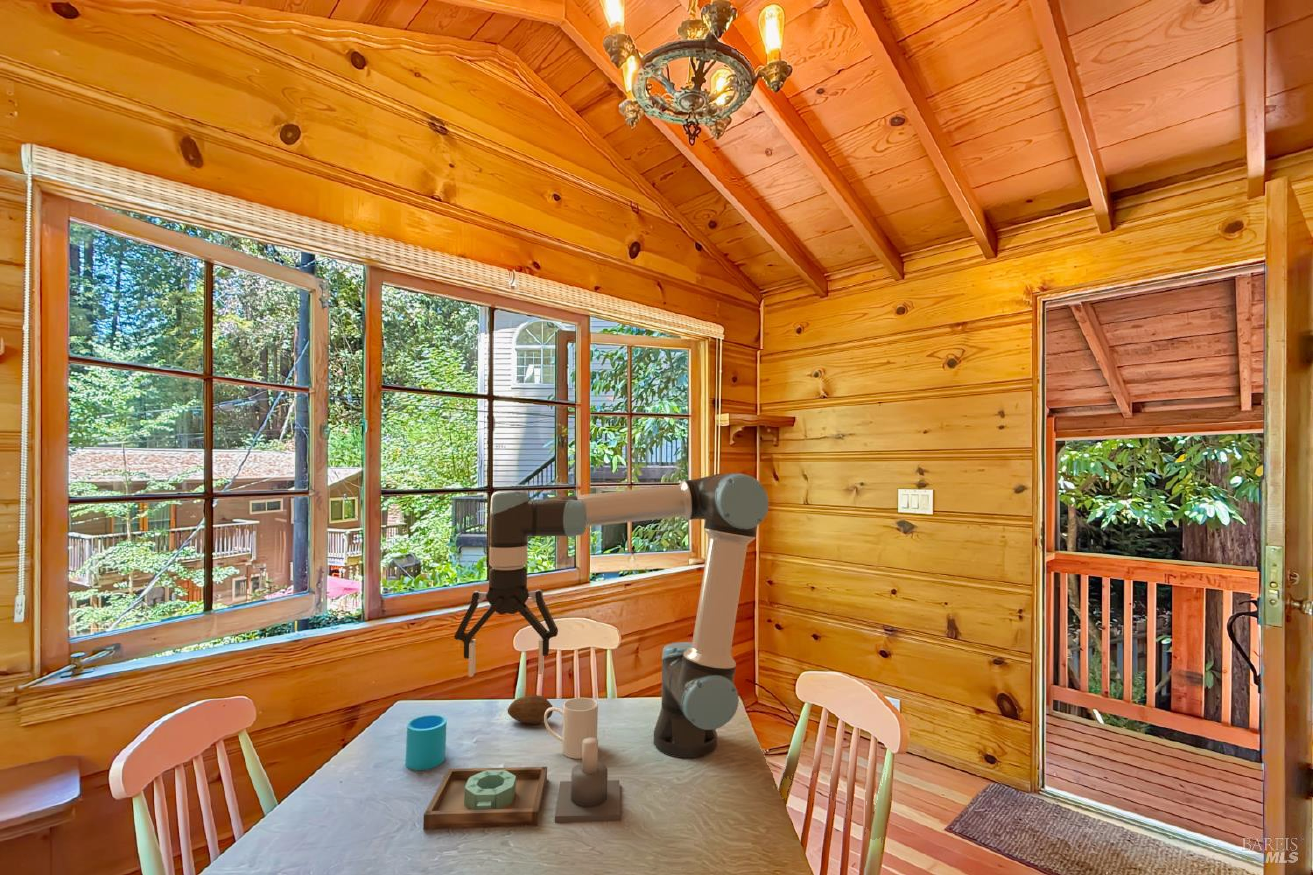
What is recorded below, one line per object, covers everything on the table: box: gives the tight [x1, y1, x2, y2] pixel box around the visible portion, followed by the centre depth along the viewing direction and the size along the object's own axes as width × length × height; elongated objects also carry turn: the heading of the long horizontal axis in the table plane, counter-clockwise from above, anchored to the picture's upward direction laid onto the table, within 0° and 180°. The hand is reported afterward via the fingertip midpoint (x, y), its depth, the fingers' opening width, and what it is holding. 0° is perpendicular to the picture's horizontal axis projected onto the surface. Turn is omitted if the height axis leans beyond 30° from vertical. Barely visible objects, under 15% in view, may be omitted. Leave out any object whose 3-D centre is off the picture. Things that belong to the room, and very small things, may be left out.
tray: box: [422, 766, 548, 830], centre depth 111 cm, size 20×16×2 cm
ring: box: [464, 770, 516, 810], centre depth 110 cm, size 9×11×3 cm
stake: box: [554, 738, 622, 823], centre depth 112 cm, size 12×12×12 cm
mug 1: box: [405, 714, 448, 771], centre depth 129 cm, size 12×8×8 cm
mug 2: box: [543, 697, 599, 760], centre depth 132 cm, size 12×8×10 cm, turn 97°
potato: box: [507, 694, 554, 725], centre depth 147 cm, size 7×12×7 cm, turn 92°
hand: (506, 673), depth 116 cm, fingers open, 13 cm apart
